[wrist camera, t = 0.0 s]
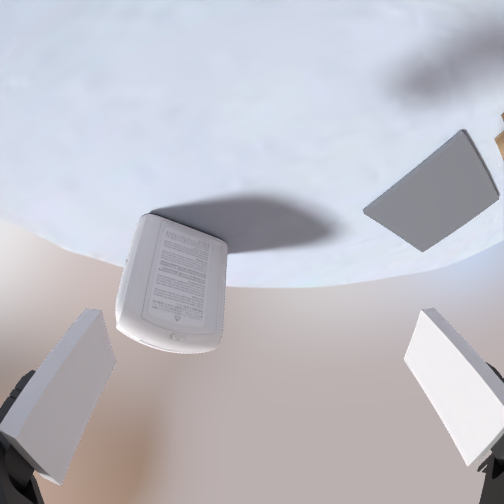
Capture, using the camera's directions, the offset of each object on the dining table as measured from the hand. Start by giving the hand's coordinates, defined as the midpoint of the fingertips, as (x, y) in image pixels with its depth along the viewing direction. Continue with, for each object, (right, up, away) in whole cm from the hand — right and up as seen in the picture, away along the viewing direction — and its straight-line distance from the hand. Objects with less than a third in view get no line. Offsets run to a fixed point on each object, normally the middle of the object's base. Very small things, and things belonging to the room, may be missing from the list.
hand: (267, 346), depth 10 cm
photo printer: (-8, +6, +19) cm, 22 cm away
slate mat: (+19, +9, +14) cm, 26 cm away
